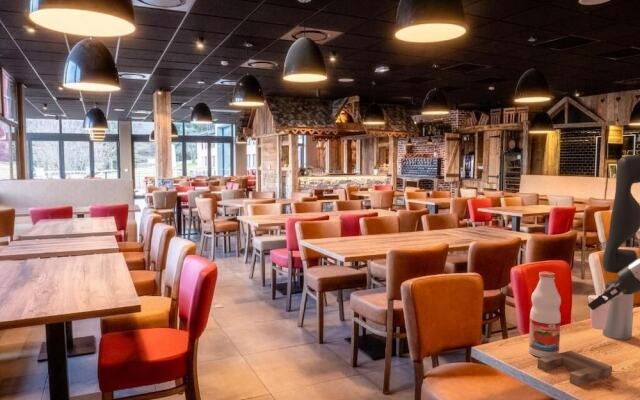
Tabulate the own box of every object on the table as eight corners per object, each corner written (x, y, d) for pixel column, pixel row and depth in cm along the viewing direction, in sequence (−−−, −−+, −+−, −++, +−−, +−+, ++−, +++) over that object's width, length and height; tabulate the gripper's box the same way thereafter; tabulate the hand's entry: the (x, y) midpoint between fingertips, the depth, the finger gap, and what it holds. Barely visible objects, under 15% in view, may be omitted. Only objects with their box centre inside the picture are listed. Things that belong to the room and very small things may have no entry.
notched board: (570, 359, 163) (570, 350, 163) (611, 375, 151) (612, 366, 150) (537, 367, 156) (537, 358, 155) (578, 386, 143) (578, 376, 143)
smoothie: (590, 329, 151) (592, 285, 150) (584, 323, 158) (586, 280, 157) (613, 331, 150) (615, 286, 149) (606, 325, 156) (608, 282, 155)
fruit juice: (551, 349, 172) (555, 270, 170) (563, 359, 162) (567, 276, 160) (524, 348, 172) (527, 269, 170) (534, 358, 163) (538, 275, 161)
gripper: (634, 261, 153) (590, 291, 161) (624, 267, 142) (578, 299, 151) (653, 280, 149) (607, 310, 158) (645, 288, 139) (596, 320, 147)
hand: (593, 305), depth 154 cm, fingers closed on smoothie, 6 cm apart
